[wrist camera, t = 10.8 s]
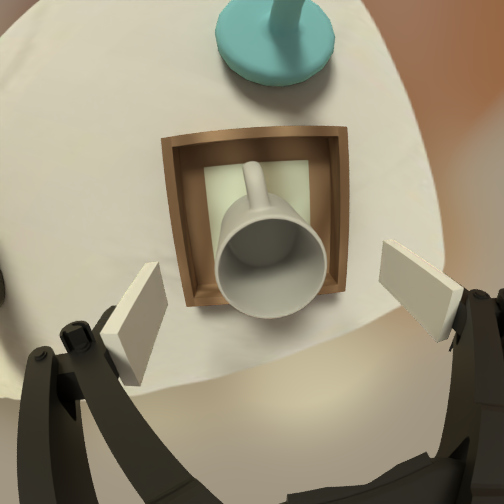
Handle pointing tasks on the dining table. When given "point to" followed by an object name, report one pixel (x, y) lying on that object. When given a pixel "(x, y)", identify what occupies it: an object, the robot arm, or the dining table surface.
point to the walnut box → (233, 187)
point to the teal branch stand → (274, 40)
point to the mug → (267, 253)
